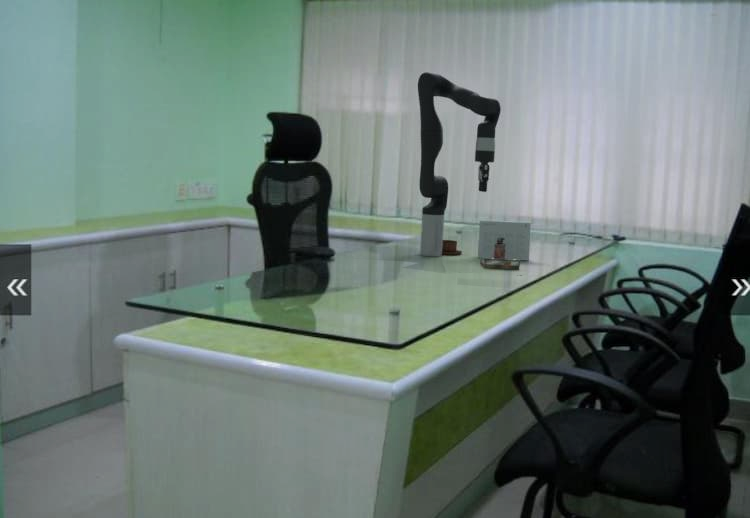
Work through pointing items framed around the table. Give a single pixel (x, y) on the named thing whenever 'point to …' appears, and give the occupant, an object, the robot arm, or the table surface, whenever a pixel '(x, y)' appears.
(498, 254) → the lighter
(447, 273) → the table surface
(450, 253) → the cup and saucer
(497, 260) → the shelf board
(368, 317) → the table surface
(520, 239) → the skincare box
